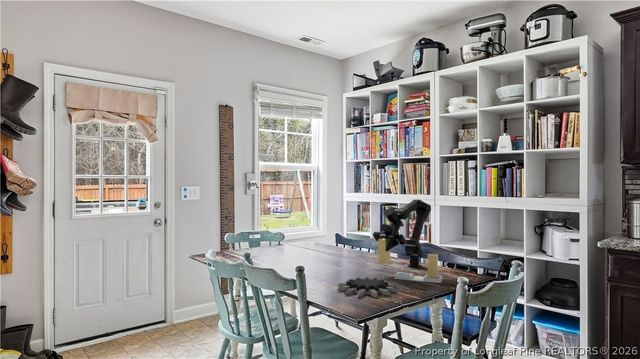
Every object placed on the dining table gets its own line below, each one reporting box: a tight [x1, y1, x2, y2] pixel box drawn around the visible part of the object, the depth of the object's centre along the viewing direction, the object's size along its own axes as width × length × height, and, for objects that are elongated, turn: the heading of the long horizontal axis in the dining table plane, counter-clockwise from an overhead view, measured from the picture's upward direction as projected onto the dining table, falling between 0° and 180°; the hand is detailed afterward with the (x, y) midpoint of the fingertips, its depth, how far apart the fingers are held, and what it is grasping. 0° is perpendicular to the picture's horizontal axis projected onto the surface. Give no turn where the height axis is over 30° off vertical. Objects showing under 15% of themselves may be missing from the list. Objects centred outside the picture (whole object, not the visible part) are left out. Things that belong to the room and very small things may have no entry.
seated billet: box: [427, 253, 439, 279], centre depth 196 cm, size 4×4×12 cm
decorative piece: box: [336, 276, 400, 299], centre depth 181 cm, size 30×4×30 cm
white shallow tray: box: [393, 271, 443, 284], centre depth 199 cm, size 9×23×2 cm, turn 67°
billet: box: [377, 238, 391, 265], centre depth 209 cm, size 4×4×12 cm
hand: (382, 250), depth 208 cm, fingers closed on billet, 4 cm apart
